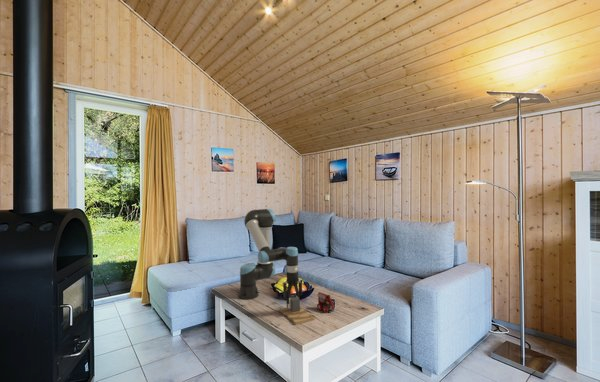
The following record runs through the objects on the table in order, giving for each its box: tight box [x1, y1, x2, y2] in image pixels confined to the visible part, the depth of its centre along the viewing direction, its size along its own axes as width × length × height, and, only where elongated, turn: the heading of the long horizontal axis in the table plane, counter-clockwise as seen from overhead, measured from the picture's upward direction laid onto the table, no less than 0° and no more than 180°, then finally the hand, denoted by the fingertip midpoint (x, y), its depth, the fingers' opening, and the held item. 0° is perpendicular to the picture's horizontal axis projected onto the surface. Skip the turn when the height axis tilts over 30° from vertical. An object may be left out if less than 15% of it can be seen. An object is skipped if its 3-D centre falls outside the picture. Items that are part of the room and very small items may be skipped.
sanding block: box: [286, 294, 301, 313], centre depth 187 cm, size 9×5×8 cm, turn 27°
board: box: [280, 306, 316, 326], centre depth 183 cm, size 22×13×2 cm, turn 28°
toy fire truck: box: [316, 291, 335, 313], centre depth 190 cm, size 7×12×10 cm, turn 43°
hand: (293, 307), depth 187 cm, fingers closed on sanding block, 5 cm apart
